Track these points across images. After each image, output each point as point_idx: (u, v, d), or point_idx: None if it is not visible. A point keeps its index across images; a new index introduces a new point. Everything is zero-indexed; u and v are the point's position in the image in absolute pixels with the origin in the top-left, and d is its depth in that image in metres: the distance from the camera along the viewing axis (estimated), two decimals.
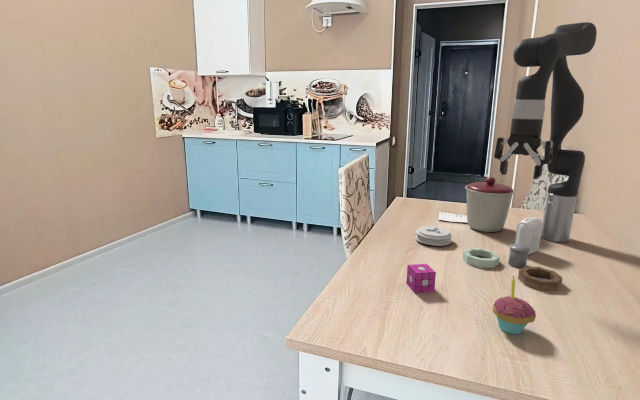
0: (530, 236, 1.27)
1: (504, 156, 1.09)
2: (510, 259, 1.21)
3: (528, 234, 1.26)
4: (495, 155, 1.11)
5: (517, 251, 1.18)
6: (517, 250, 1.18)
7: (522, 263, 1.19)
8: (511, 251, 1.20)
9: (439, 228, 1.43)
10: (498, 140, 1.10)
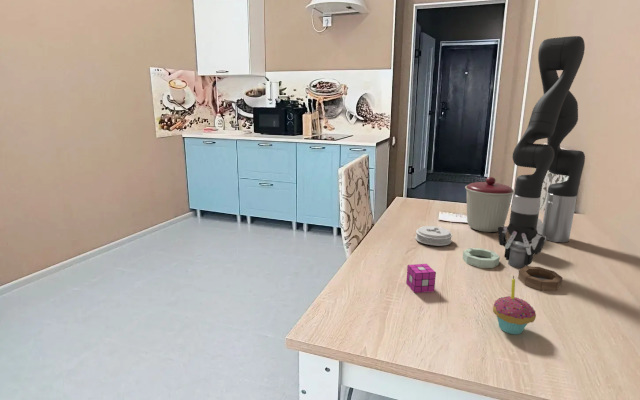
0: None
1: (508, 244, 1.21)
2: (510, 259, 1.21)
3: None
4: (500, 242, 1.23)
5: (517, 251, 1.18)
6: (517, 250, 1.18)
7: (522, 263, 1.19)
8: (511, 251, 1.20)
9: (439, 228, 1.43)
10: (499, 229, 1.23)
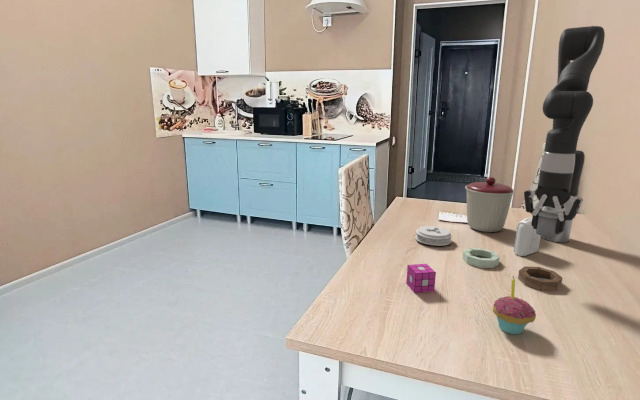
0: (530, 236, 1.27)
1: (536, 211, 1.06)
2: (538, 227, 1.06)
3: (528, 234, 1.26)
4: (526, 209, 1.08)
5: (547, 217, 1.03)
6: (547, 216, 1.03)
7: (552, 231, 1.04)
8: (540, 218, 1.05)
9: (439, 228, 1.43)
10: (525, 194, 1.08)
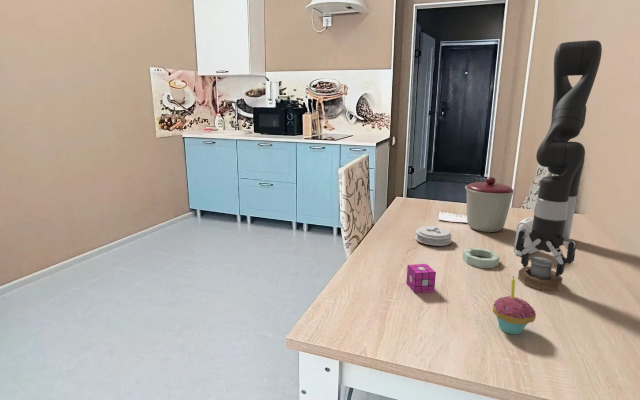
0: None
1: (526, 249, 1.10)
2: (532, 274, 1.09)
3: None
4: (517, 247, 1.12)
5: (540, 266, 1.06)
6: (540, 265, 1.06)
7: (545, 279, 1.07)
8: (533, 265, 1.08)
9: (439, 228, 1.43)
10: (520, 233, 1.10)
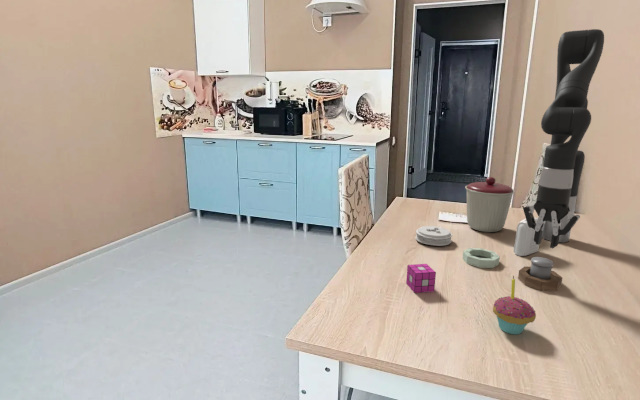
0: (530, 236, 1.27)
1: (539, 226, 1.06)
2: (532, 274, 1.09)
3: (528, 234, 1.26)
4: (529, 225, 1.08)
5: (540, 266, 1.06)
6: (540, 264, 1.06)
7: (545, 279, 1.07)
8: (533, 265, 1.08)
9: (439, 228, 1.43)
10: (525, 210, 1.08)
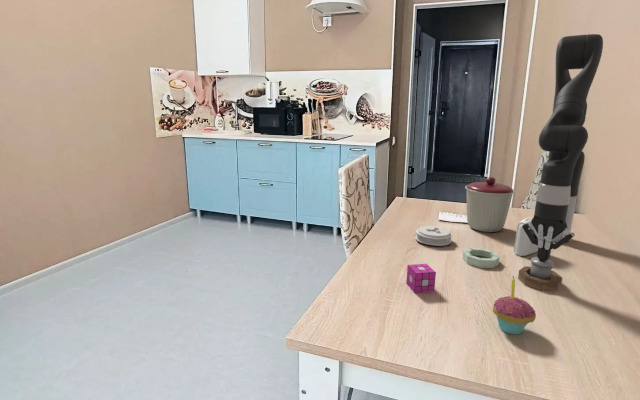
0: None
1: (542, 243, 1.06)
2: (532, 274, 1.09)
3: None
4: (532, 241, 1.08)
5: (540, 266, 1.06)
6: (540, 265, 1.06)
7: (545, 279, 1.07)
8: (533, 265, 1.08)
9: (439, 228, 1.43)
10: (524, 227, 1.09)
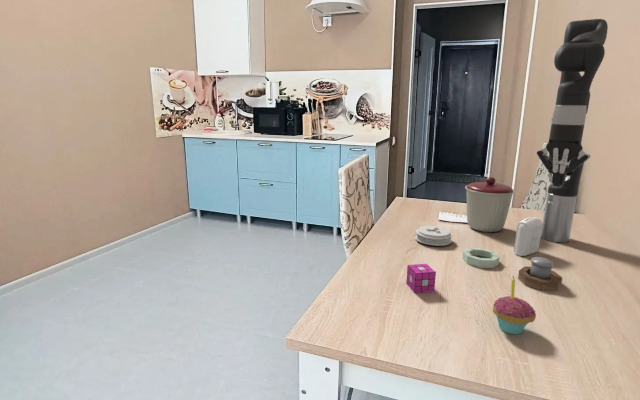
0: (530, 236, 1.27)
1: (557, 167, 1.06)
2: (532, 274, 1.09)
3: (528, 234, 1.26)
4: (547, 167, 1.08)
5: (540, 266, 1.06)
6: (540, 265, 1.06)
7: (545, 279, 1.07)
8: (533, 265, 1.08)
9: (439, 228, 1.43)
10: (538, 154, 1.09)
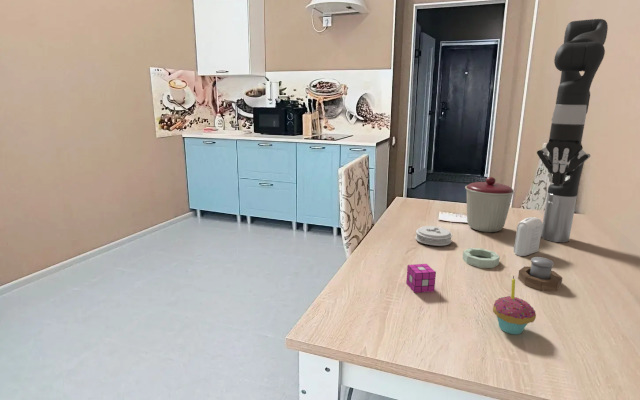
0: (530, 236, 1.27)
1: (557, 167, 1.06)
2: (532, 274, 1.09)
3: (528, 234, 1.26)
4: (547, 166, 1.08)
5: (540, 266, 1.06)
6: (540, 265, 1.06)
7: (545, 279, 1.07)
8: (533, 265, 1.08)
9: (439, 228, 1.43)
10: (538, 153, 1.09)
